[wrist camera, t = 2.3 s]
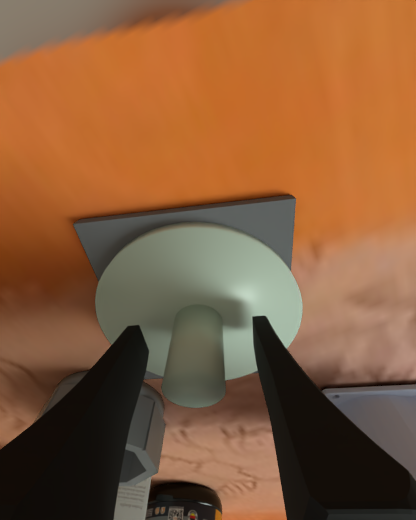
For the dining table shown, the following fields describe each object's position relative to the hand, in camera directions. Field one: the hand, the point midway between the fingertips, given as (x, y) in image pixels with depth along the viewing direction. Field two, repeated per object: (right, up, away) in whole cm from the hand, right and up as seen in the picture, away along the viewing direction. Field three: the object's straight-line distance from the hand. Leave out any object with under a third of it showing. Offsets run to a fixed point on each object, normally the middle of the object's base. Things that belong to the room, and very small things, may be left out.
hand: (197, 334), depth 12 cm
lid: (0, +1, +1) cm, 2 cm away
